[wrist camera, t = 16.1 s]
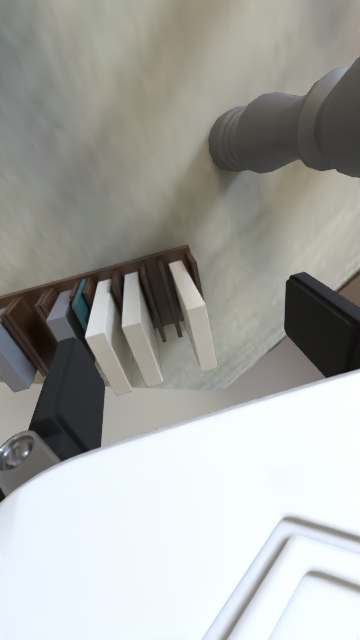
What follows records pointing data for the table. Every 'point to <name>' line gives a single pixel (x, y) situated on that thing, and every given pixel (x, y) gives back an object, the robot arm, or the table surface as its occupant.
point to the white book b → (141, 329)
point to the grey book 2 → (67, 322)
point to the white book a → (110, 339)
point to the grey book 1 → (14, 361)
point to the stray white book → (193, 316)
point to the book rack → (37, 302)
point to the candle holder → (294, 128)
